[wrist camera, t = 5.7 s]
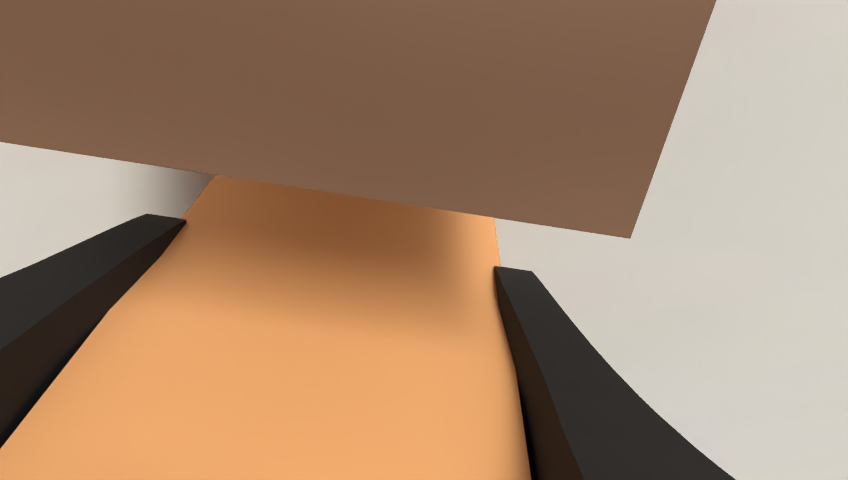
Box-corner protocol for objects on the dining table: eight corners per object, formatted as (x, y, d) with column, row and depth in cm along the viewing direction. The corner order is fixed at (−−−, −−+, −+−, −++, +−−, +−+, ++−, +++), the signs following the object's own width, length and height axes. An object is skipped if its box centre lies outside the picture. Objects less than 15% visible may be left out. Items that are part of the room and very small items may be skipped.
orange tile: (473, 285, 13) (502, 706, 6) (223, 248, 13) (-17, 645, 6) (491, 206, 12) (548, 598, 5) (223, 163, 12) (-58, 522, 5)
